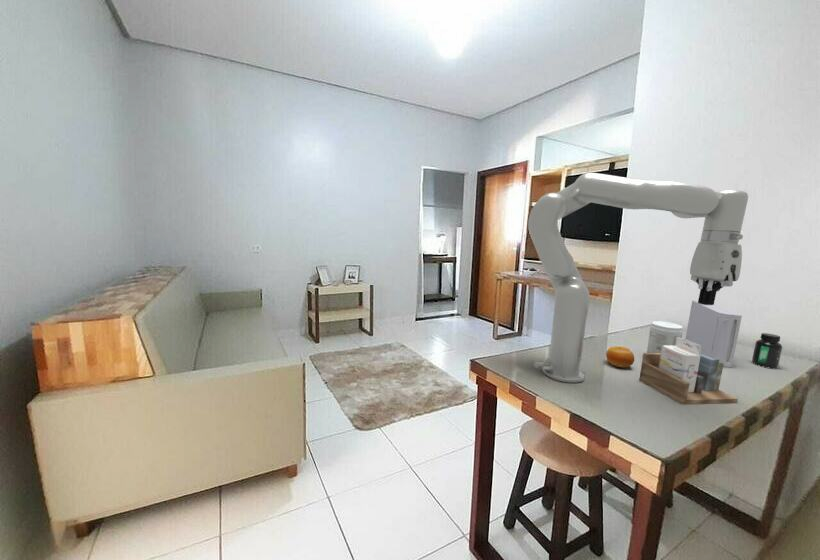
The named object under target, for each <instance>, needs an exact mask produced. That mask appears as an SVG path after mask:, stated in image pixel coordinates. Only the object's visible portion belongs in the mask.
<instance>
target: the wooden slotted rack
mask: <svg viewBox="0 0 820 560" xmlns="http://www.w3.org/2000/svg"><path fill="white" fill-rule="evenodd" d="M700 356H701V357H700V362H699V367H698V373H697V378H696V383H695V388H694V392H688V389H689V384H690V383H688V382H686V381H684V380H682V379H679V378H677V377H675V376H673V375H671V374H669V373H667V372H665V371H663V370H661V369H659V363H660V357H661V353H647V352H643V354H642V360H641V368H640V371H639V381H641V382H642V383H644V384H646V385H647V386H649V387H651V388H653V389H655V390H656V391H658V392H660V393H662V394H663V393H664V395H665V394H666V395H665V396H667V397H669V398H671V399H673V400H674V401H675V402H678V403H679V404H681V405H693V404H694V405H695V404H696V405H697V404H699V405H700V404H702V405H704V404H735V403H739V398H737V397H736V396H733V395H731V394H729V393H727V392H725V391H722V390H721V389H720V384H721V379H722V374H723V369H724V366H723V365H724V363H722V362H720V361H719V359H717V358H714V357H711V356H709V355H706V354H703V353H701V352H700Z"/></svg>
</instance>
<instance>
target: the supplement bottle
mask: <svg viewBox="0 0 820 560" xmlns="http://www.w3.org/2000/svg"><path fill="white" fill-rule="evenodd" d="M780 342H781V336H780V335H777V334H774V333H767V332H762V333H761V335H760V339H757V340H756V341H755V343H754V349H753V354H752V359H751V363H752V362H753V363H752V364H754V363H755V364H754V365H756V364H757V365H756V366H758V365H760V366H759V367H762V366H764V367H763V368H766V367H769V368H768V369H773V368H775V369H777V367H779V365H780V364H779V363H780V360H781V354H782V350H783V344H781V343H780Z"/></svg>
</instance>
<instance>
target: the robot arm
mask: <svg viewBox="0 0 820 560" xmlns="http://www.w3.org/2000/svg"><path fill="white" fill-rule="evenodd" d="M748 200H749V195H748V192H746V191H743V190H737V189H736V190H735V189H734V190H731V189H729V190H728V189H727V190H719V191H715V190H714V189H712V188H710V187H707V186H703V185H698V184H697V185H696V184H690V183H684V182H676V181H666V180H652V179H642V178H641V179H639V178H632V177H628V176H627V177H626V176H625V177H624V176H619V175H613V174H607V173H606V174H605V173H599V172H586V173H585V172H584V173H583V174H581V175H580V176H578V178H576V180H575V182H573V183H572V184H570V185H568V186H567V187H564V188H563V189H561V190H559V191H557V192H549V193H545V194H544V195H542V196H541V197H540V198H539V199H538V200H537V201H536V202H535V204H534V206H533V207H532V208H531V210H530V214H529V216H528V221H527V222H528V223H527V224H528V233H529V236H530V238H531V241H532V243H533V246H534V248H535V251H536V253H537V256H538V258H539V261H540V262H541V265H542V269H543V271H544V273H545V274H546V275H547V277H548V279H549V281H550V284H551V287H552V288H553V289H554V292H555V298H554V309H553V319H552V327H551V336H550V338H551V339H550V344H549V346H550V347H549V355H548V357H546V358H545V361H542V362H541V361H534V362H533V363H534V364H533V366H534V368H535V369H541V370H542V372H543V374H544V375H546V376H547V377H549V378H550V379H552V380H556V381H559V382H564V383H571V384H575V383H576V384H577V383H582V382H584V380H585V374H584V372H582V371H581V364H582V363H581V362H582V355H583V348H584V341H585V340H584V339H585V333H586V332H585V331H586V324H587V323H586V322H587V316H588V311H589V308H590V307H589V306H590V299H591V295H590V291H589V289H588V287H587V286H586V285H585V283H584V281H583V278H582V276H581V274H580V272H579V269H578V268H577V265H576V262H575V261H574V258H573V256H572V254H571V253H570V252H569V250H568V248H567V246H566V244H565V242H564V239H563V237H562V234H561V232H560V230H559V227H558V221H559V220H562V218H564V217H566V216H568V215H571V214H572V213H574V212H576V211H578V210H579V209H581V208H583V207H585V206H587V205H589V204H590V203H593V204H597V205H598V204H599V205H603V206H611V207H613V208H614V207H615V208H620V209H624V210H655V211H656V210H657V211H665V212H671V214H673V216H675V217H677V218H679V219H695V218H696V219H697V218H704V221H703V227H702V232H701V237H700V241H699V242H698V243H697V246H696V247H695V250H694V253H693V256H692V260H691V263H690V267H689V268H690V269H689V275H690V280H691V281H693V282H695V283H696V284H697V285H698V286H697V287H698V289H699V290H700V291H699V295H698V299H697V301H698V303H699V304H703V305H715V300H716V295H717V292H720V290H721V289H722V288H724V287H725V288H726V287H732V286H733V284H734V282H737V281H738V280H739V278H740V275H741V268H742V259H743V249H742V244H739V241H740V240H742V239H743V238H744V235H743V234H741V231H742V227H743V222H744V217H745V214H746V209H747V205H748V202H749V201H748Z"/></svg>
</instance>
